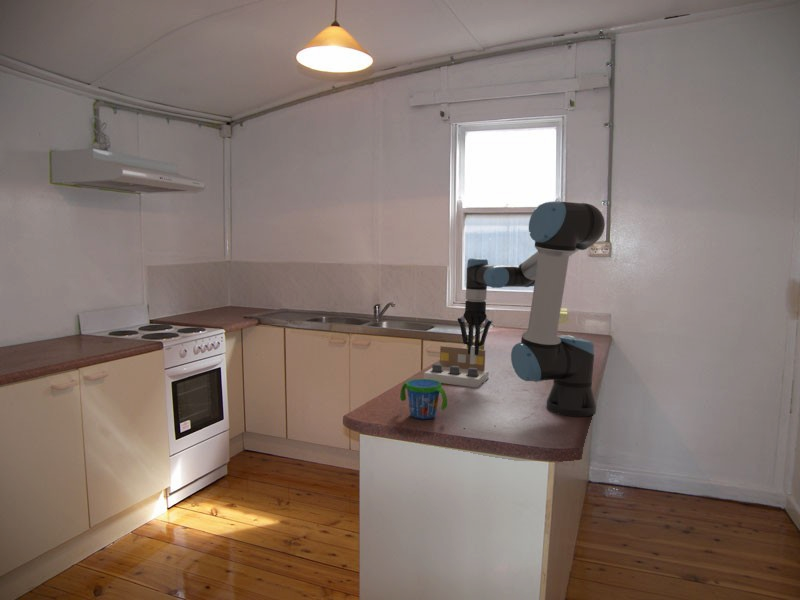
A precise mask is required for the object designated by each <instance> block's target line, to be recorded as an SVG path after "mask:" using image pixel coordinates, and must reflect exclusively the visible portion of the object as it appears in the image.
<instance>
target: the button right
mask: <svg viewBox="0 0 800 600" xmlns="http://www.w3.org/2000/svg"><path fill="white" fill-rule="evenodd" d="M468 376H469V377H477V376H478V369H477V368H468Z"/></svg>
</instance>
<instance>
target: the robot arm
mask: <svg viewBox="0 0 800 600" xmlns="http://www.w3.org/2000/svg"><path fill="white" fill-rule="evenodd" d="M605 226H606V222H605V217H604V215H603V212H601V211H600V209H599V208H597V207H596V206H594V205H592V204H591V203H586V202H585V203H584V202H581V203H580V202H572V201H571V202H570V201H561V200H560V201H559V200H553V201H552V200H551V201H550V200H549V201H544V202H542V203H540V204H538V205H537V207H536V208H534V210H533V212H532V213H531V215H530V219H529V222H528V232H529V236H530V238H531V239H532V240H533V241H534V248H535V250H536V252H534V253H533V254H532V255H531V256H530V257H528V258H527V259H526V260H525V261H523V262H522V263H520V264H519V265H493V264H491V265H490V264H489V260H488V259H486V258H477V257H474V258H469V259H468V260H467V264H466V284H465V286H466V287H465V303H464V305H465V307H464V313H463V316H461V317H458V318H457V323H458V324H459V326H460V332H461V336H462V341H463V342H462V343H463V344H464V345H465V346H467V345H468V354H470V364H475V363H476V355H478V354H479V346H482V345H483V344H484V345H485V342H486V340H487V336H488V332H489V329H490V327H491V325H492V323H493V320H492V319H490V318H488V316H487V314H486V308H487V302H486V300H487V293H488V292H487V291H488V288H487V287H490V288H493V289H498V288H499V289H500V288H509V287H510V288H518V287H519V288H529V287H533V292H532V298H531V299H532V300H531V306H530V313H529V319H528V325H527V330H526V331H525V332H523V333H522V334H521V340H520V342H518V343H516V344H515V345H513V347H512V349H511V353H510V360H511V361H510V362H511V365H512V368H513V370H514V372H515V373H516V376H517V377H518V378H520V379H521V380H522V381H525V382H536V383H537V382H540V381H551V380H553V383H552V387H551V389H550V392H549V394H548V396H547V399H546V409H547V410H548V411H550V412H552V413H555V414H558V413H559V414H558V415H562V414H564V415H563V416H567V415H570V416H569V417H578V416H583V417H590V416H591V417H592V416H594V415H596V414H597V403H596V399H595V396H594V391H593V387H592V386H593V385H592V383H593V372H594V361H595V347H594V345H595V344H594V343H593V342H592V341H590V340H588V339H583V338H577V337H576V338H573V337H567V335H558V331H559V329H558V328H559V324H560V323H559V317H560V311H561V308H562V304H563V298H564V290H565V285H566V277H567V271H568V265H569V259H570V258H569V257H571V256H572V255H574V254H575V253H577V252H578V251H586V250H587V249H589V248H590V247H592V246H593V245H594V244H595V243H596V242H598V241H599V240H600V238H601V237H602V236H603V233H604V231H605ZM465 321H466V323H467V324H468V326H467V328H468V334H467V328H466V324H465ZM483 323H484V324H485V325H484V328H483V331H482V334H481V327H482V324H483ZM474 329H475V332H474ZM473 340H475V345H473ZM480 340H481V341H480Z"/></svg>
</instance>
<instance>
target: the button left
mask: <svg viewBox="0 0 800 600" xmlns="http://www.w3.org/2000/svg"><path fill="white" fill-rule="evenodd" d="M431 365H432V366H431V368H432V372H436V373H442V365H441V364H440V363H433V364H431Z"/></svg>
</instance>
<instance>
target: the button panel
mask: <svg viewBox="0 0 800 600" xmlns="http://www.w3.org/2000/svg"><path fill="white" fill-rule="evenodd" d="M439 349H440V351H439V353H440V354H439V364H441V365H442V373H436V372H432V367H431V368H429V369H428V370H426V371H424V372H423V379H430V380H436V381H438V382H440V383H441V384H449V385H456V386H463V387H471V388H479V387H481V385H482V383H483V384H484V383H485V382H486V381H487V380H489V371H490V370H486V368H485V367H486V350H485V349H484V350H479V354H478V355H476V363H475V364H470V354H468V348H467V347H458V346H457V347H455V346H448V345H447V346H446V345H440V348H439ZM450 366H459V367H460V370H459V375H453V374H450ZM468 368H477V369H478V376H477V377H469V376H468Z"/></svg>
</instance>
